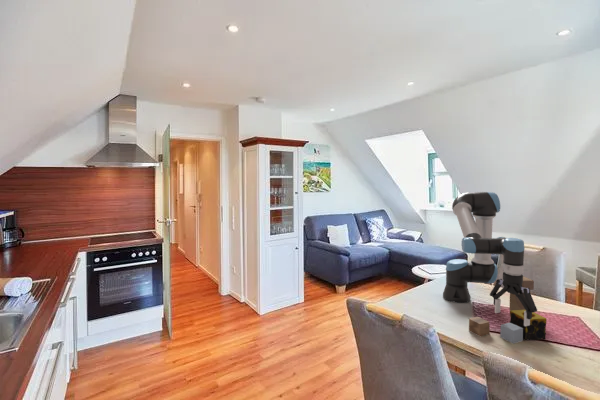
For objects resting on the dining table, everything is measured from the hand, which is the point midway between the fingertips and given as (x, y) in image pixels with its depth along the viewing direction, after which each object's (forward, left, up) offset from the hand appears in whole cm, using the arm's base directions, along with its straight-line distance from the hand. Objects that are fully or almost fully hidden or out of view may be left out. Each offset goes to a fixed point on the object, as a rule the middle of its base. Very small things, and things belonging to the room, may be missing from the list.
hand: (511, 318), depth 142 cm
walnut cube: (-10, -8, -9) cm, 16 cm away
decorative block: (-16, +29, -9) cm, 34 cm away
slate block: (0, 0, -9) cm, 9 cm away
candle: (0, +10, -10) cm, 14 cm away
